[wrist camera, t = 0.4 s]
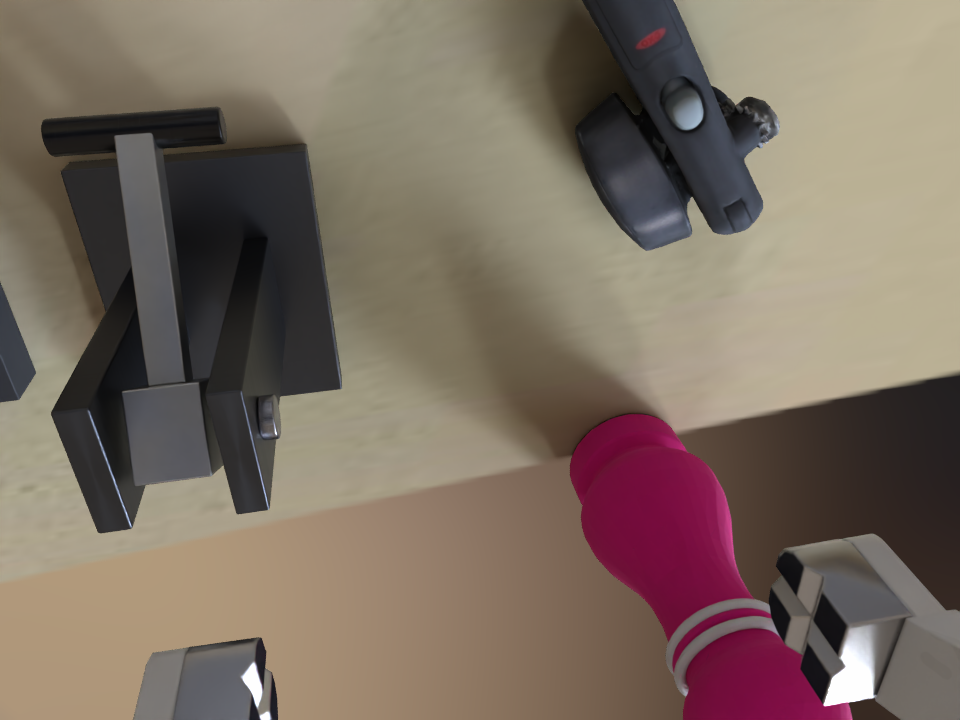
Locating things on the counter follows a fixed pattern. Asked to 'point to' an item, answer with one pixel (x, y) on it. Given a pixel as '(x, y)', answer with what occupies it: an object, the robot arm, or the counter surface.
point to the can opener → (669, 132)
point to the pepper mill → (687, 573)
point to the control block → (12, 356)
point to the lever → (154, 284)
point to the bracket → (204, 315)
